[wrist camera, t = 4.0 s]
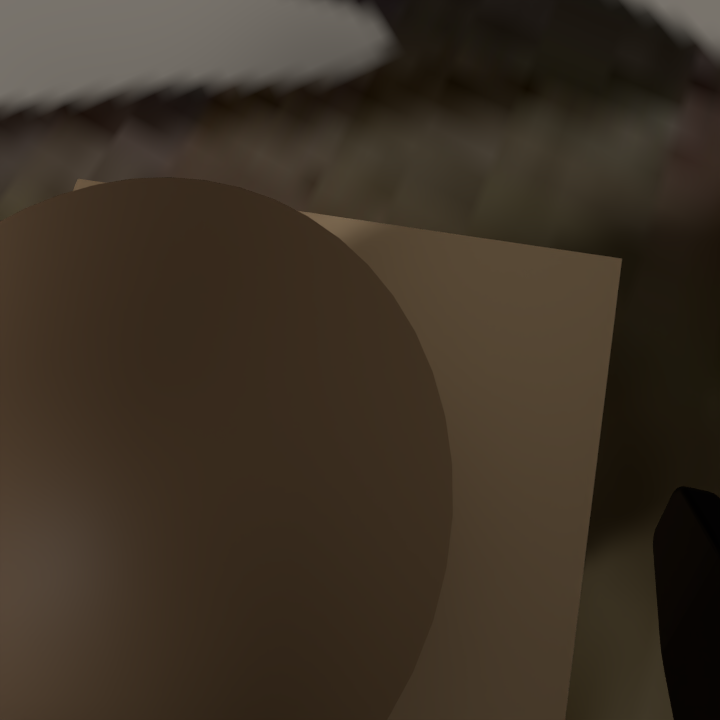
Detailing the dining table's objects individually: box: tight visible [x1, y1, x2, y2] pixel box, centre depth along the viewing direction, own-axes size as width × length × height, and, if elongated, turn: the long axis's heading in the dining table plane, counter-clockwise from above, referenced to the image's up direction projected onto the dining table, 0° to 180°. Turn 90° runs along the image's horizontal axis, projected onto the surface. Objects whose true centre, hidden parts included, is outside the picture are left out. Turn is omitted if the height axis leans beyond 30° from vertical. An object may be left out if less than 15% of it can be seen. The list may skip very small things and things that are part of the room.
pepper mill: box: [0, 177, 622, 720], centre depth 9 cm, size 5×5×13 cm
